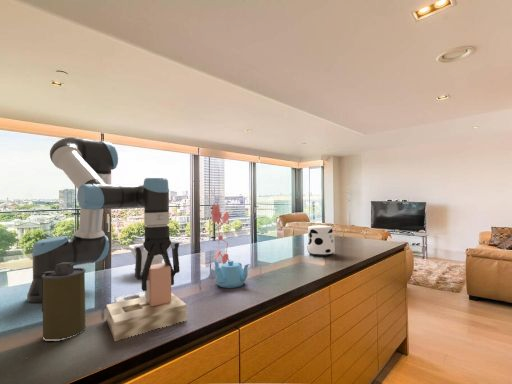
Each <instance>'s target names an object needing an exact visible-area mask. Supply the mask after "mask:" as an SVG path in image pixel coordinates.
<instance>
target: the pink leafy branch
mask: <svg viewBox="0 0 512 384" xmlns="http://www.w3.org/2000/svg"><path fill="white" fill-rule="evenodd" d="M210 214H211V216H212V218H211V220H210V221H209V223H211V222H212V221H213V224H217V225H218V226H217V231H218V238H217V239H218V241H217V242H218V244H220V241H223V242H225V243H226V247H228V246H229V243H228V242H227V241H226V240H224V239H223V235H220V229H219V228H220V227H221V226H222V225H224V224H225V225H230V221H229V218H230V214H229V212H228V211H226V212H225V213H224V214H223V215H222V212H220V205H219V204H218V203H216V204H215V203H212V209H211V211H210ZM225 249H226V250H225V253H224V254H223V256H222V253H221V252H222V251H221V250H218V252H217V253H216V255H215V257H214V258H213V259H214V260H216V261H217V259H219V258H221V260H222V261H221V262H222V265H223V264H225V263H228V261H231V260H230V259H229V254H228V253H227V252H228V248H225ZM207 267H208V268H210V266H209V265H208V266H207Z"/></svg>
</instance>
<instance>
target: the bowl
mask: <svg viewBox="0 0 512 384" xmlns="http://www.w3.org/2000/svg"><path fill="white" fill-rule="evenodd" d="M143 243H144V242H143ZM143 243H136V244H135V243H134V244H130V245H128V249H129V250H130V251H131V254H132V255H133V257H134V258H135V260H136V252H135V249H134V248H135V247H136V246H137V247H138V246H141V245H143ZM170 249H172V248H171V245H170V246H169V248H168V249H167V253H169V251H170ZM147 254H148V251H147V250H146V249H145V248H144V249H143V252H142V263H141V272H143V269H144V266H145V262H146V259H147ZM163 261H164V259H163V257H162V255H159V254H158V255H156V256H154V258H153V260H152V263H151V265H153V264H160V263H163Z"/></svg>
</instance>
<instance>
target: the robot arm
mask: <svg viewBox="0 0 512 384" xmlns="http://www.w3.org/2000/svg"><path fill="white" fill-rule="evenodd" d="M118 155H119V154H118V151H117V149H116V147H115V145H114V144H112V143H111V142H108V141H103V140H97V139H96V140H95V139H87V138H80V137H72V136H71V137H65V138H61V139H60V140H58V141H56V142H55V143H54V144H53V145H52V146H51V148H50V149H49V158H50V160H51V162H52V164H53V165H54V166H55V167H56V168H57V169H59V170H61V171H63V172H64V174H65V175H66V176H67V178H68V179H69V180H70V181H71V182H72V184H73V185H74V186H75V187H76V188H77V194H76V201H77V203H78V206H79V207H80V209H79V210H80V213H79V222H78V223H79V224H78V229H77V230H76V231H75V232H74V233H73V237H72V238H69V236H67V235H59V236H54V237H52V236H51V237H48V238H43V239H40V240H37V241H36V242H34V244H33V246H32V253H31V256H32V281H31V283H30V287H29V289H28V292H27V297H26V301H27V302H28V303H31V304H35V303H36V304H38V303H41V304H42V273H44V272H47V271H55V266H56V265H57V264H60V263H62V262H75V265H73V267H75V266H80V265H86V264H95V263H97V262H101V261H103V260H104V259H106V258H107V256H108V253H109V250H110V243H109V240H110V239H109V238H108V236H107V235H105V232H104V231H103V229H102V225H103V217H104V216H103V215H104V210H107V209H108V210H109V209H130V208H135V209H136V208H138V209H139V208H143V209H144V211H143V212H144V217H143V218H144V219H143V220H144V221H143V222H144V225H145V227H144V242H143V245H141V246H138V247H137V246H136V247H135V248H134V249H135V252H136V259H135V266H134V267H135V269H134V279H136V280H137V281H141V291H142V292H145V300H146V301H147V302H150V288H149V280H148V279H147V277H148V273H149V268H150V267H151V263H152V260H153V258H154V256H156V255H158V254H159V255H162V257H163V263H165V264H166V265H167V266H168V265H169V266H170V267H171V286H174V285H175V276H176V274H179V273H180V260H179V259H180V258H179V247H180V243H179V242H177V241H174V242H173V241H172V240H171V239H170V226H169V224H170V195H169V194H170V189H169V180H168V179H167V178H165V177H146V178H144V180H143V185H142V184H140V185H137V184H136V185H133V184H132V185H131V184H125V185H123V184H108V183H107V178H108V177H109V176H111V175H112V170H115V169H116V168H117V166H118V164H119V156H118ZM170 245H171V248H170V249H171V253H172V262H171V260H170V257H169V254H168V253H169V252H168V253H167V249H168V248H169V246H170ZM144 248H145V249H146V250H147V251H148V254H147V259H146V262H145V266H144V269H143V271H141V263H142V252H143V249H144ZM172 265H173V266H172Z"/></svg>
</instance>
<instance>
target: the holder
mask: <svg viewBox="0 0 512 384" xmlns="http://www.w3.org/2000/svg"><path fill="white" fill-rule="evenodd" d="M140 297H145V291H139V292H135V293H134V292H133V293H130V294H126V295H125V294H124V295H120V296H116V297H114V303H117V302H122V301H126V300H131V299H136V298H140Z"/></svg>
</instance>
